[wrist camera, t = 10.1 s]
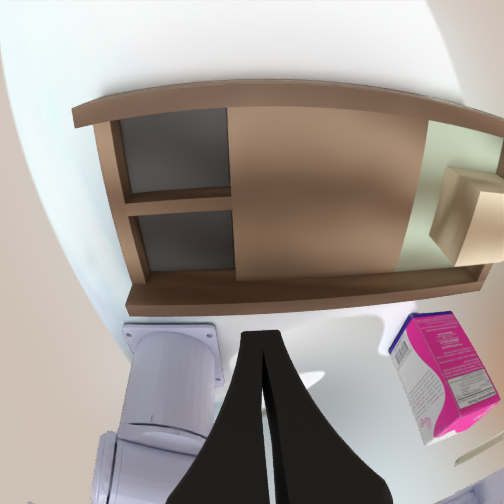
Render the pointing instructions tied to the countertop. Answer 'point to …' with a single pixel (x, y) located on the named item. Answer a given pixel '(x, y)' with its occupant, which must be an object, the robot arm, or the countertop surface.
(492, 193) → the birch block
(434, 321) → the supplement box
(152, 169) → the compartment tray
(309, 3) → the countertop surface
